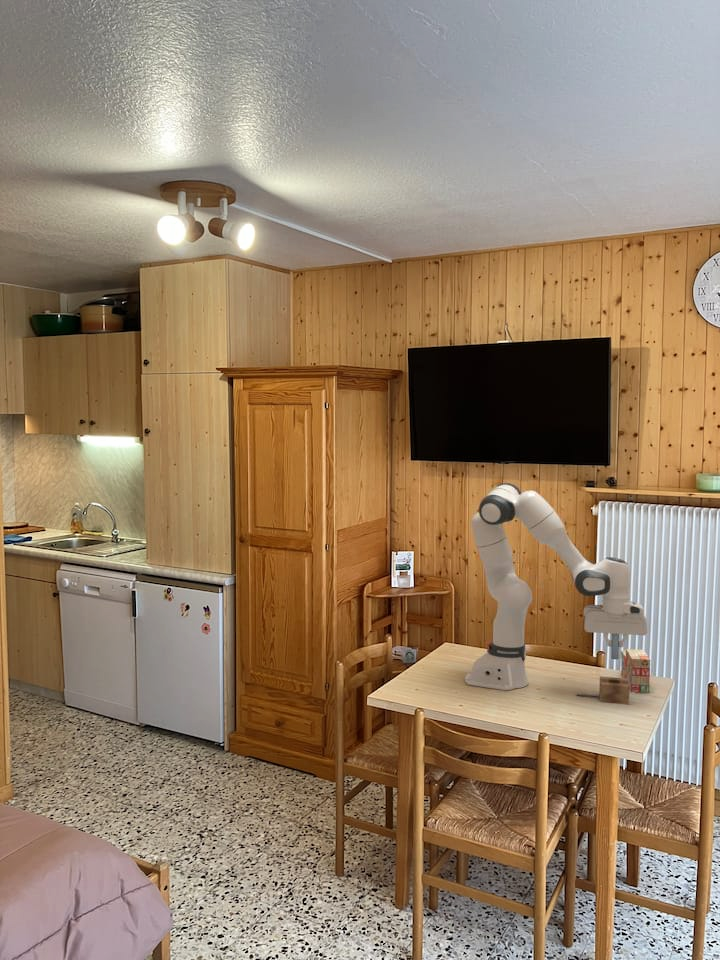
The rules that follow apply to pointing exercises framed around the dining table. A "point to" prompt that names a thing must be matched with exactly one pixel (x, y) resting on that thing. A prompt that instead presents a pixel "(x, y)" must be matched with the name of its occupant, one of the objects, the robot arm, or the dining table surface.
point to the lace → (587, 695)
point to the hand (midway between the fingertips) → (615, 646)
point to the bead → (614, 690)
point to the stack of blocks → (636, 669)
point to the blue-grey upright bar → (615, 646)
